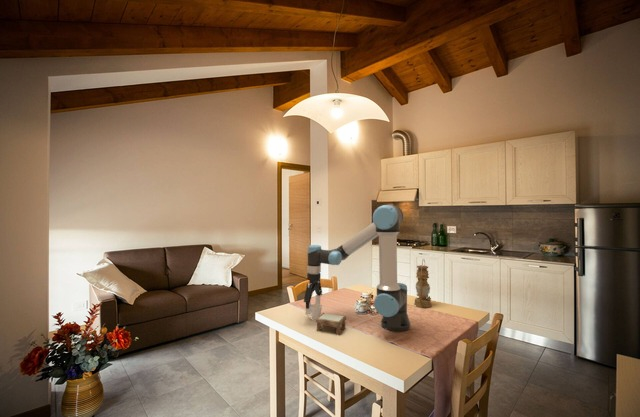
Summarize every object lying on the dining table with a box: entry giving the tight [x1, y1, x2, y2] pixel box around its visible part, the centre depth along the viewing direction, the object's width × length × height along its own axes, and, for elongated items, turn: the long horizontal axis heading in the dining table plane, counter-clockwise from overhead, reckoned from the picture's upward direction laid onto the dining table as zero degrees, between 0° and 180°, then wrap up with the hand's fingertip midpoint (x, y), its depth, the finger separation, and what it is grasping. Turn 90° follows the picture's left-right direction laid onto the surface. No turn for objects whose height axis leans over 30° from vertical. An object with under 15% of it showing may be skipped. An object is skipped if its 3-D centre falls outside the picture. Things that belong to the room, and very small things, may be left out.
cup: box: [305, 303, 323, 322], centre depth 170 cm, size 7×10×8 cm
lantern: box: [414, 259, 432, 308], centre depth 196 cm, size 15×10×30 cm
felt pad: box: [319, 312, 345, 322], centre depth 157 cm, size 11×8×1 cm
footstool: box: [315, 312, 347, 335], centre depth 157 cm, size 13×10×6 cm
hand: (313, 310), depth 170 cm, fingers open, 13 cm apart
